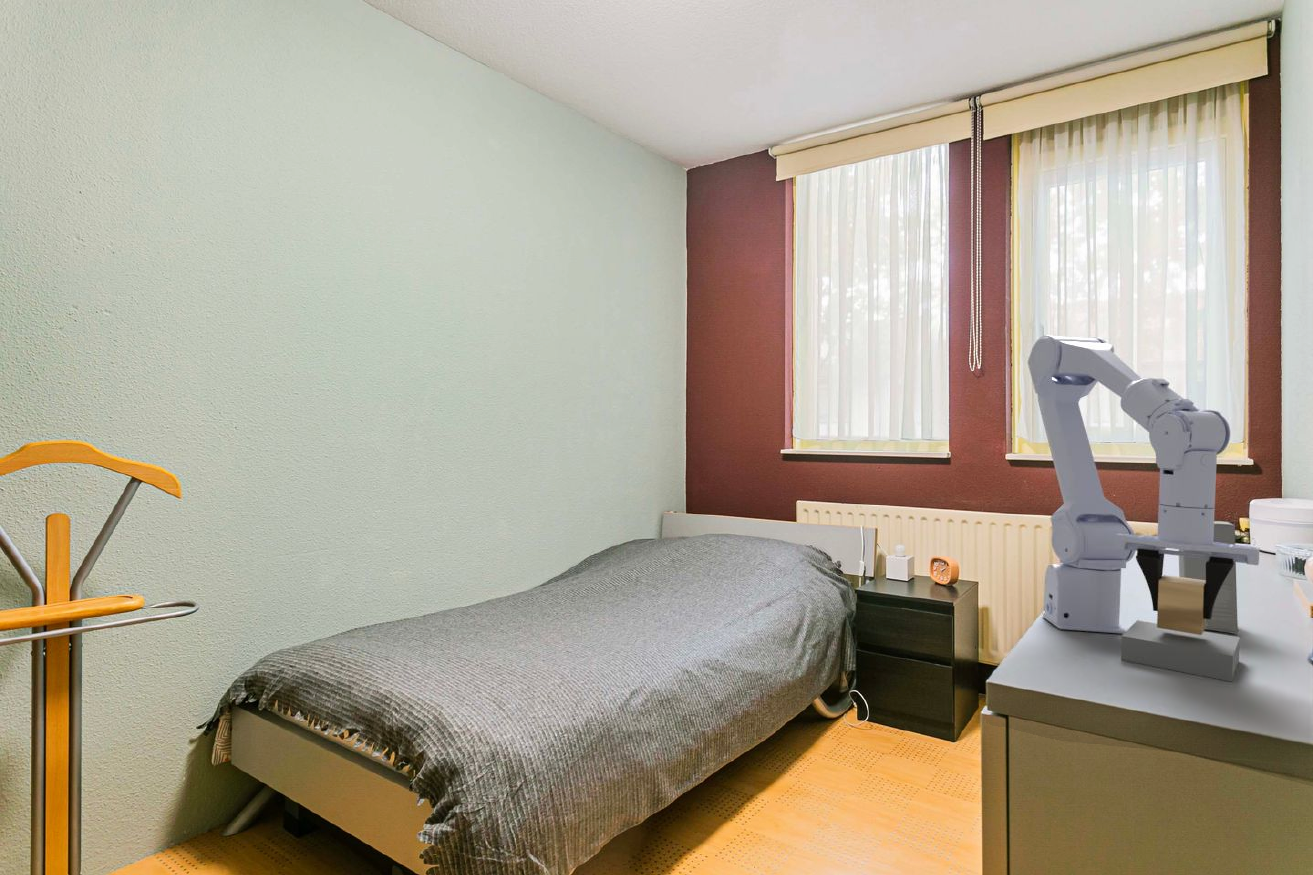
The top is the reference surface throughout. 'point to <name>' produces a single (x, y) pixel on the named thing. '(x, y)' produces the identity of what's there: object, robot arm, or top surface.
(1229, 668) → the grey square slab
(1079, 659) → the top surface
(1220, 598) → the skincare box
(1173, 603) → the oak block
